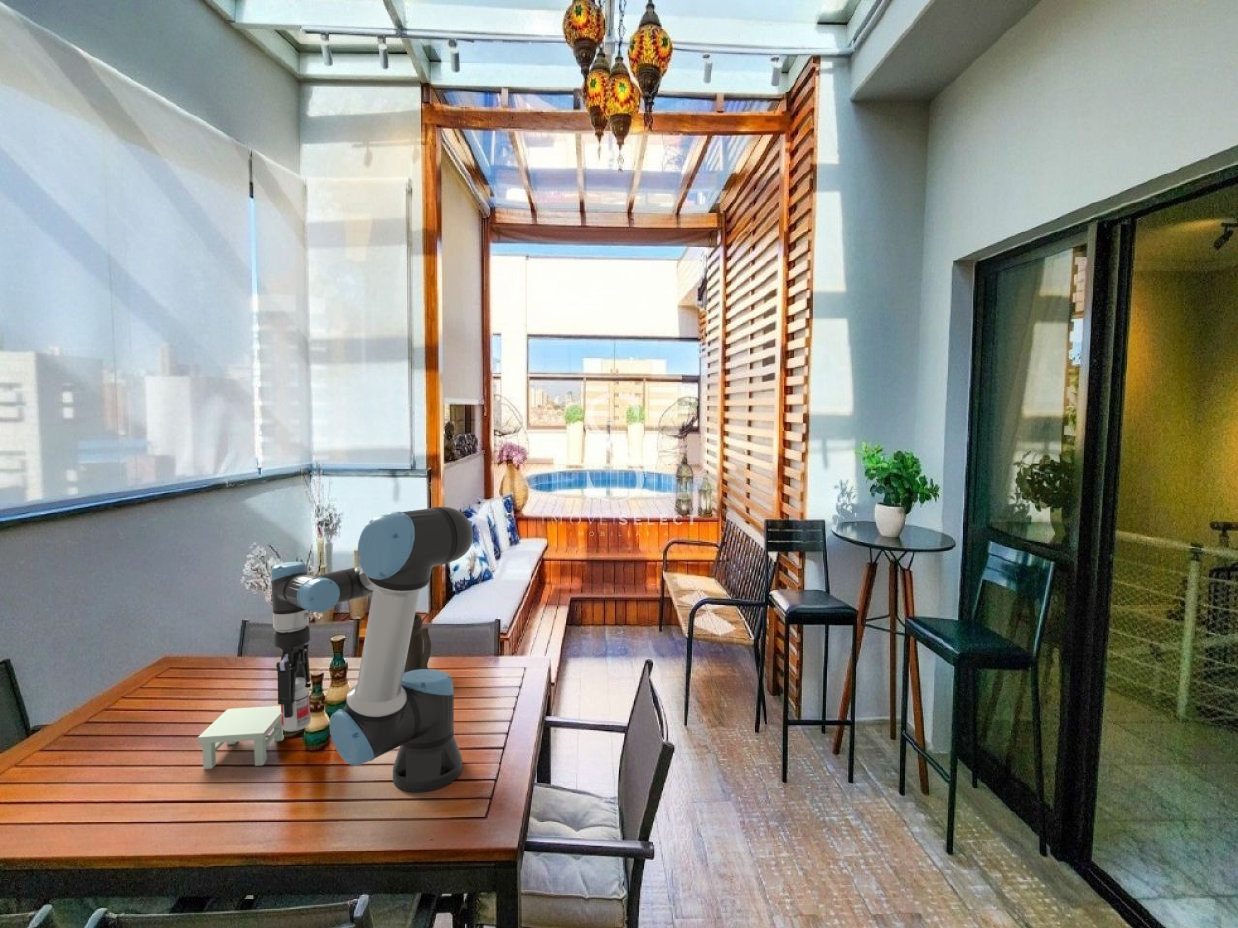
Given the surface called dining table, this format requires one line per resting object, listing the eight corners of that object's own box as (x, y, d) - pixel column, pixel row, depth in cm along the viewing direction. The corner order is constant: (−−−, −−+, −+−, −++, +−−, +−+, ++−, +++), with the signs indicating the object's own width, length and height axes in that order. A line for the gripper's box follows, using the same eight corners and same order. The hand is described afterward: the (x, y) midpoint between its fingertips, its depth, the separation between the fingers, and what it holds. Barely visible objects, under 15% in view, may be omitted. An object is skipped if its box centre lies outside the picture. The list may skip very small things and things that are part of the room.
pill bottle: (288, 720, 149) (286, 676, 149) (314, 719, 150) (312, 675, 150) (277, 733, 143) (274, 686, 143) (304, 731, 144) (302, 685, 143)
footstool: (264, 766, 142) (263, 732, 141) (199, 770, 140) (197, 737, 139) (288, 735, 156) (287, 705, 155) (228, 739, 154) (227, 708, 153)
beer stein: (378, 683, 187) (380, 619, 186) (400, 669, 198) (402, 609, 196) (421, 693, 183) (424, 628, 181) (441, 678, 193) (444, 617, 191)
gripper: (293, 639, 137) (297, 740, 138) (321, 614, 156) (326, 703, 157) (257, 641, 136) (262, 743, 137) (290, 616, 155) (294, 706, 156)
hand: (296, 721), depth 147 cm, fingers closed on pill bottle, 6 cm apart
